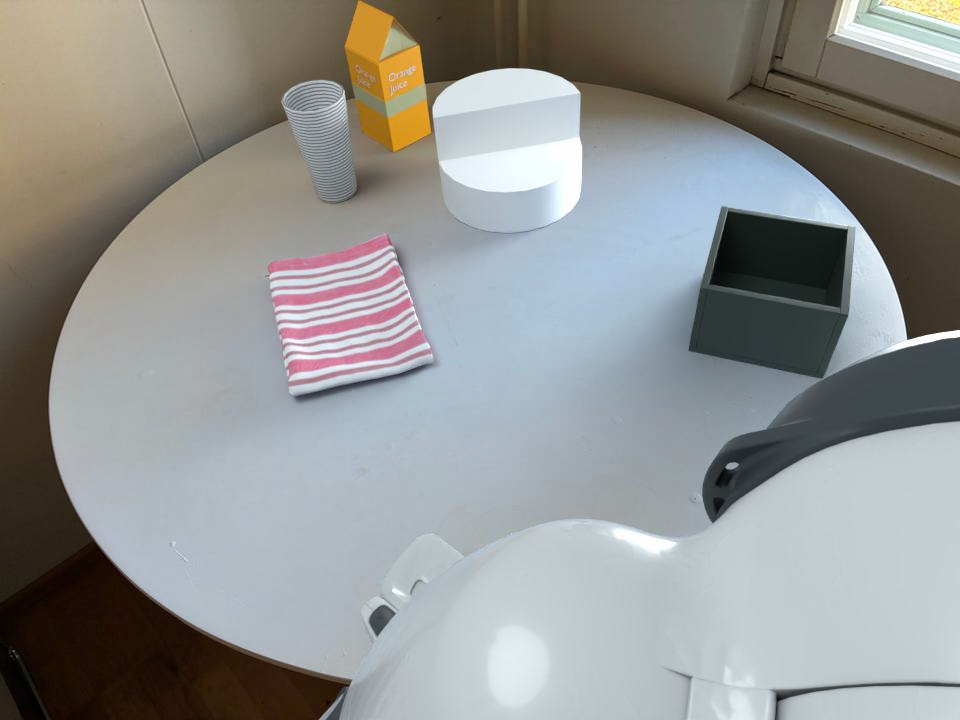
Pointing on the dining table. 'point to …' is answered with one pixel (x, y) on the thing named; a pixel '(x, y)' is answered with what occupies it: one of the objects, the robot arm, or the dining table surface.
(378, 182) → the dining table surface
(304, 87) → the cup
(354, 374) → the dish towel
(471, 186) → the stepped white cylinder
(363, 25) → the orange juice
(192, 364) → the dining table surface
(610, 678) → the robot arm
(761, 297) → the storage bin
